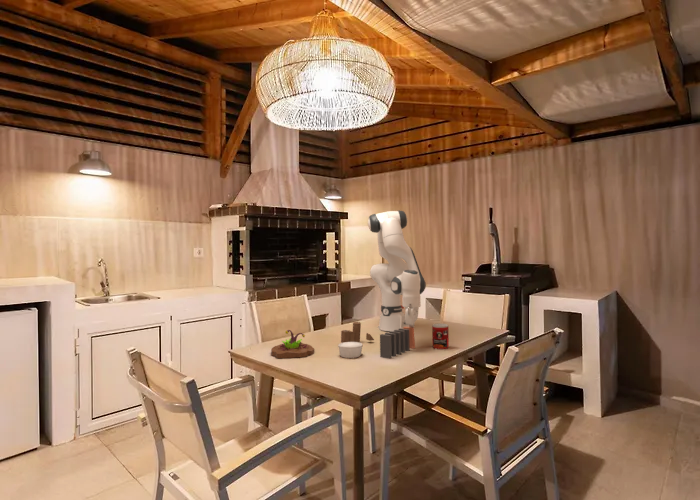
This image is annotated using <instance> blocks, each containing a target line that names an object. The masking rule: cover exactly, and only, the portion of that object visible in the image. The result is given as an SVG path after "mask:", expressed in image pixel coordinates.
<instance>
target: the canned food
mask: <svg viewBox="0 0 700 500" xmlns="http://www.w3.org/2000/svg"><path fill="white" fill-rule="evenodd" d="M431 331H432V334H431V335H432V348H433V349H436V350H447V349H449V347H450V346H449V341H450V340H449V338H450V337H449V335H450V334H449V333H450V332H449V324H446V323H433V324H432V327H431Z"/></svg>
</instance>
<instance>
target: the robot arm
mask: <svg viewBox="0 0 700 500" xmlns="http://www.w3.org/2000/svg"><path fill="white" fill-rule="evenodd" d="M407 225H408V216H407V214H406V212H405V211H404V210H401V209H400V210H387V211H384V212H378V213H373V214H371V215H369V216H368V220H367V226H368V228H369V231H370V232H372V233H376V234H377V246H378V252H379V255H380V257H381V258H383V259H384V260H386V261H387V263H377V264H373V265H372V266H371V267H370V269H369V275H370V278H371V279H372V281H374V283H376V285H377V286H378V289H379V290H380V295H381V297H380V298H381V305H380V311H381V313H380V315H379V322H378V323H379V324H378V325H377V329H378V330H379V331H383V332H384V331H385V332H390V331H394V330H399V329H400V328H401V329H403V327H412V328H414V329H415V323H416V321H417V320H418V317H419V310H420V309H419V308H421V306H422V305H421V295H422V294H423V293H424V291H425V290H426V287H427V283H426V279H425V277H424V275H423V274H422V272H421V269H420V267H419V264H418V261H417V258H416V256H415V252H414V251H413V250H414V249H413V248H412V247H411V246H409V245H408V243H407V242H406V240H405V237H404V233H403V232H404V231H403V229H405V228H406V227H407ZM401 296H402V303H401ZM403 309H404V311H405V312H404V311H403Z"/></svg>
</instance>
